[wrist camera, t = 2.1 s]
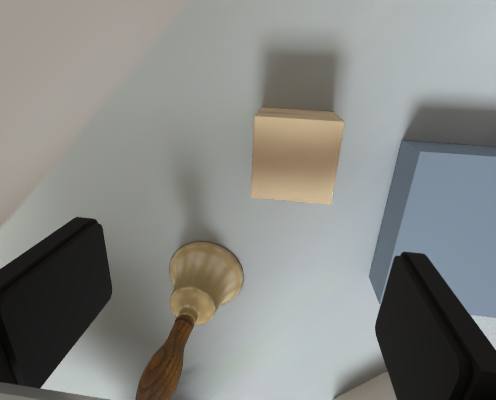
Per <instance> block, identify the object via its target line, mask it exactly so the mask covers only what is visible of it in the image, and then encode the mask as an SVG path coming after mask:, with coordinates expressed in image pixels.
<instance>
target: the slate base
mask: <svg viewBox="0 0 496 400" xmlns="http://www.w3.org/2000/svg"><path fill="white" fill-rule="evenodd" d="M402 252H413V253H423V254H425V255H426V256H427V257H428V258H429V260H430V261H431V262H432V264H433V265H434V267H435V268H436V269H437V271H438V272H439V273H440V275H441V276H442V277H443V279H444V280H445V282H446V283H447V284H448V286H449V287H450V288H451V290H452V291H453V293H454V294H455V295H456V297H457V298H458V299H459V301H460V302H461V303H462V305H463V306H464V308H465V309H466V310H467V312H468V313H469V314H470V315H477V316H486V317H494V318H496V147H491V146H477V145H462V144H447V143H432V142H418V141H403V140H402V141H401V146H400V150H399V154H398V158H397V162H396V166H395V171H394V175H393V179H392V183H391V187H390V191H389V196H388V200H387V204H386V208H385V212H384V217H383V221H382V225H381V229H380V233H379V237H378V242H377V246H376V250H375V254H374V258H373V262H372V267H371V271H370V275H369V278H370V281H371V283H372V286H373V289H374V291H375V294H376V296H377V299H378V301H379V304H381V303H382V299H383V295H384V292H385V288H386V285H387V281H388V278H389V274H390V270H391V267H392V263H393V260H394V257H395V256H400V255H401V253H402Z"/></svg>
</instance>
